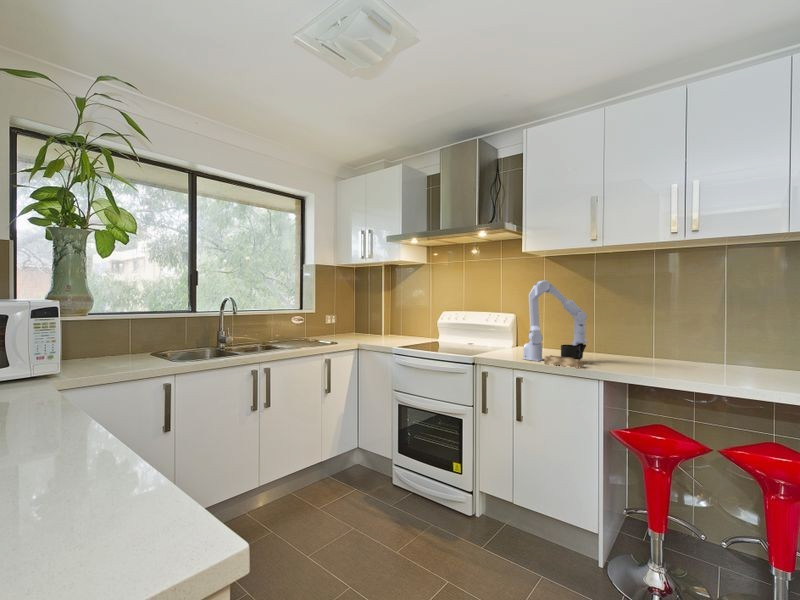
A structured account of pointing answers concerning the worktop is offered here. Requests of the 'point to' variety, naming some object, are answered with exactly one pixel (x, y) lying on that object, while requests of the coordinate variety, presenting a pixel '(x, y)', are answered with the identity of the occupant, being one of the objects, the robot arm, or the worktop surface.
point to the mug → (571, 351)
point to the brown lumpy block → (563, 361)
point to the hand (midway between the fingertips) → (579, 357)
